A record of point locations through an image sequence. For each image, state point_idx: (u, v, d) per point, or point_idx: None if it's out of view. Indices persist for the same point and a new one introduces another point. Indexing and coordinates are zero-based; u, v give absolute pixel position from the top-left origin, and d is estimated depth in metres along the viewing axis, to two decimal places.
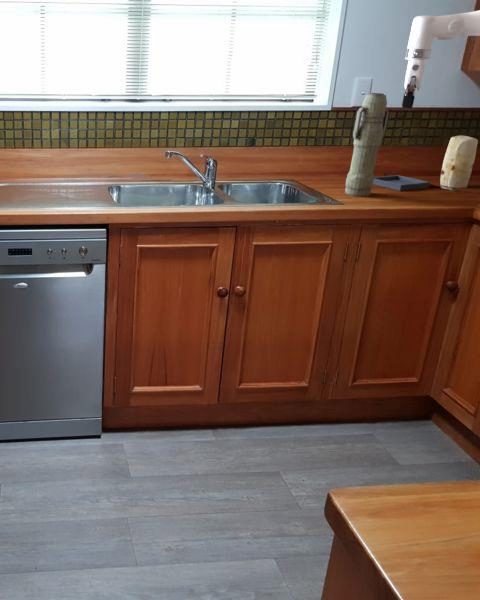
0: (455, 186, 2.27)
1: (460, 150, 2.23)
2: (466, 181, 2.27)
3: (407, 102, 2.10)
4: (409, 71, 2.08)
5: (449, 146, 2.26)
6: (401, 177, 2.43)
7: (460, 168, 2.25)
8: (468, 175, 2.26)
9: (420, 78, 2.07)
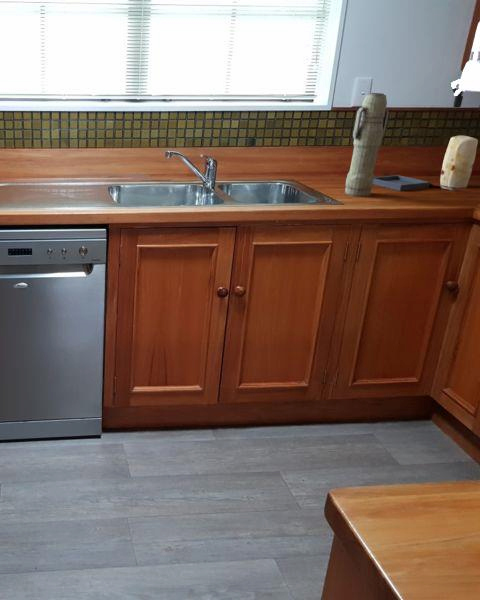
0: (455, 186, 2.27)
1: (460, 150, 2.23)
2: (466, 181, 2.27)
3: None
4: None
5: (449, 146, 2.26)
6: (401, 177, 2.43)
7: (460, 168, 2.25)
8: (468, 175, 2.26)
9: None
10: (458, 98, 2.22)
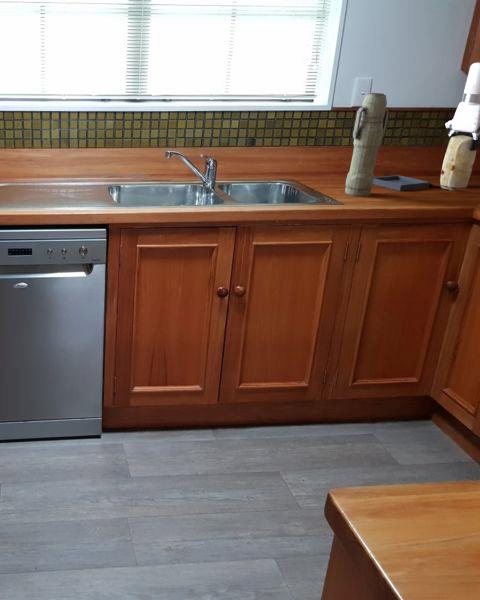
0: (455, 186, 2.27)
1: (460, 150, 2.23)
2: (466, 181, 2.27)
3: (476, 145, 2.20)
4: (479, 115, 2.16)
5: (449, 146, 2.26)
6: (401, 177, 2.43)
7: (460, 168, 2.25)
8: (468, 175, 2.26)
9: None
10: None
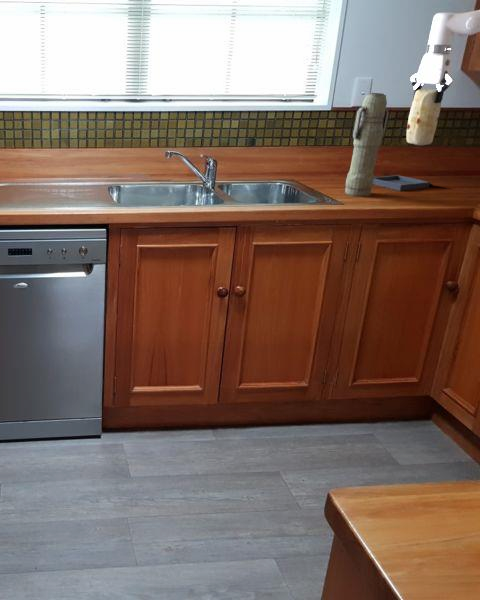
0: (421, 140, 2.26)
1: (425, 103, 2.21)
2: (432, 135, 2.25)
3: (440, 97, 2.18)
4: (443, 66, 2.14)
5: (414, 99, 2.25)
6: (401, 177, 2.43)
7: (425, 121, 2.23)
8: (433, 128, 2.24)
9: (449, 73, 2.16)
10: None
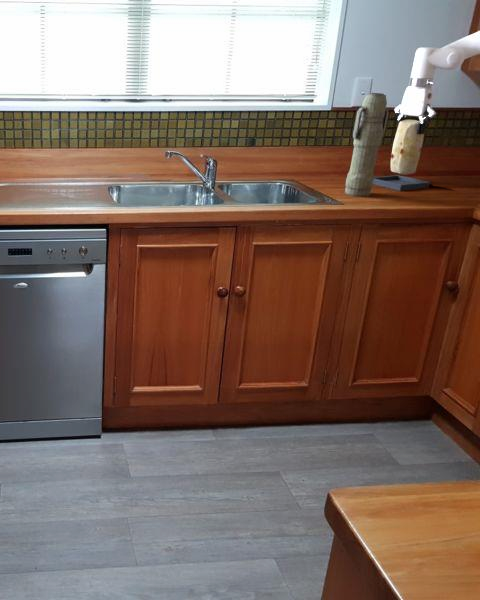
0: (404, 169, 2.32)
1: (408, 134, 2.27)
2: (415, 164, 2.31)
3: (422, 129, 2.24)
4: (425, 99, 2.20)
5: (398, 130, 2.30)
6: (401, 177, 2.43)
7: (408, 151, 2.29)
8: (416, 158, 2.30)
9: (431, 105, 2.22)
10: None
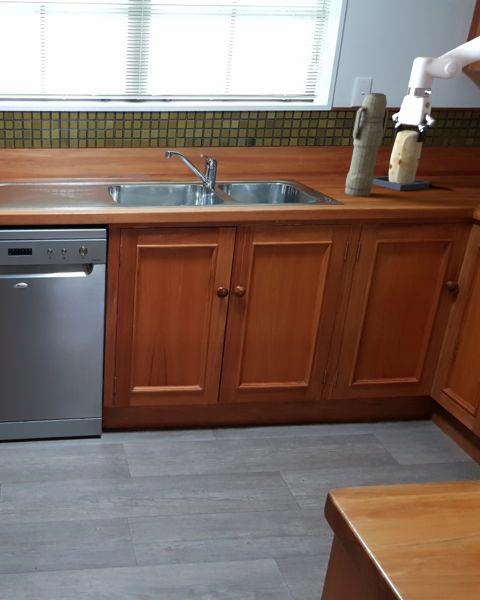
0: (402, 180, 2.33)
1: (406, 144, 2.28)
2: (413, 175, 2.32)
3: (422, 137, 2.25)
4: (423, 109, 2.21)
5: (396, 141, 2.32)
6: None
7: (406, 162, 2.30)
8: (414, 169, 2.31)
9: (429, 114, 2.23)
10: (398, 130, 2.32)
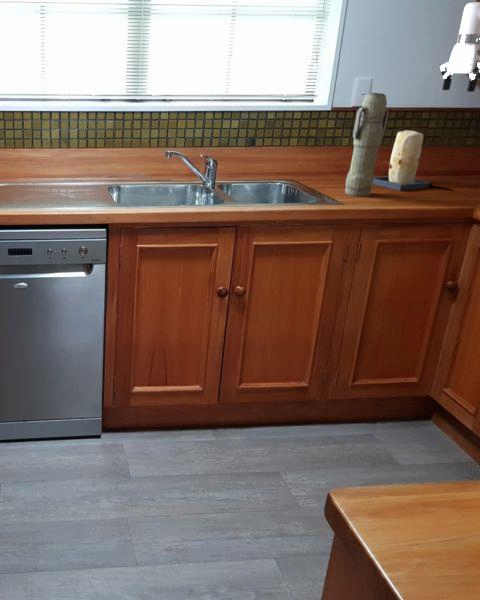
0: (402, 180, 2.33)
1: (406, 144, 2.28)
2: (413, 175, 2.32)
3: (473, 86, 2.18)
4: (475, 56, 2.15)
5: (396, 141, 2.31)
6: None
7: (406, 162, 2.30)
8: (414, 169, 2.31)
9: None
10: (447, 81, 2.26)
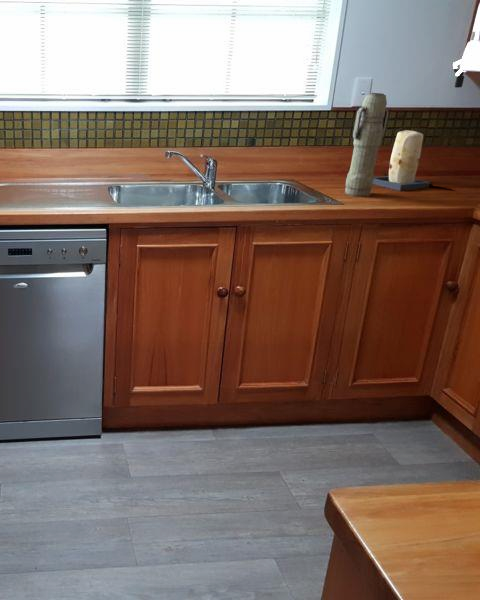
0: (402, 180, 2.33)
1: (406, 144, 2.28)
2: (413, 175, 2.32)
3: None
4: None
5: (396, 141, 2.32)
6: None
7: (406, 162, 2.30)
8: (414, 169, 2.31)
9: None
10: (459, 78, 2.26)
